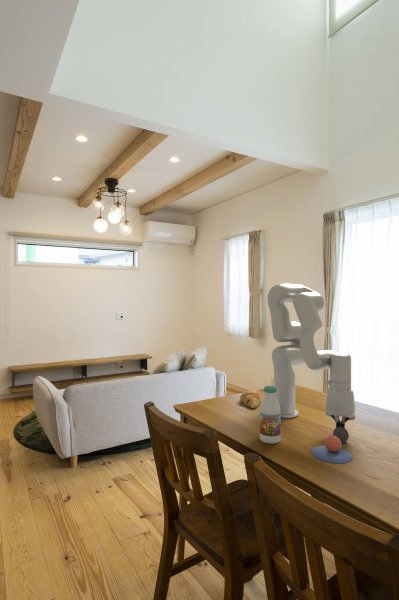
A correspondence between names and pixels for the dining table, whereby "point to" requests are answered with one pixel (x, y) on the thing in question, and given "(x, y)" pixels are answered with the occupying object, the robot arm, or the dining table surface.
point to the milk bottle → (270, 417)
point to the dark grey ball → (341, 434)
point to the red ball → (333, 443)
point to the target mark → (331, 455)
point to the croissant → (250, 398)
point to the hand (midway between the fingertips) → (340, 432)
